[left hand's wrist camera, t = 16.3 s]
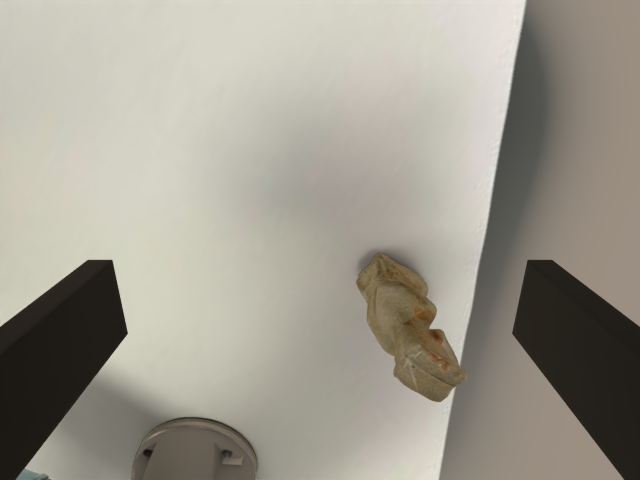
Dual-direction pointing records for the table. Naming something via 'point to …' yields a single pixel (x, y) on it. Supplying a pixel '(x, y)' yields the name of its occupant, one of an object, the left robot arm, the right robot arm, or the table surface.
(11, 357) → the left robot arm
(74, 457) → the table surface
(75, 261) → the table surface
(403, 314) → the sculpture
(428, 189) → the table surface
